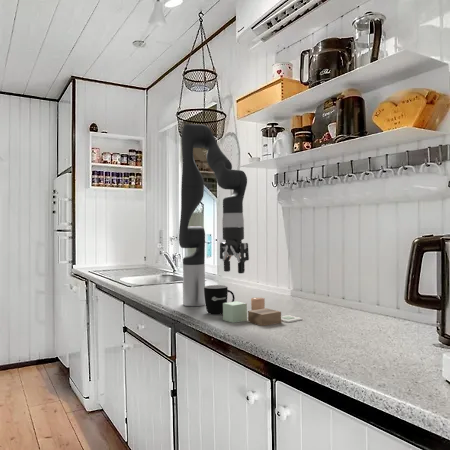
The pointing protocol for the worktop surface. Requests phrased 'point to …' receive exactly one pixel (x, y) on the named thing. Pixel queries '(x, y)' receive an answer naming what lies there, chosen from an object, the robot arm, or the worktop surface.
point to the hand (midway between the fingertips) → (234, 272)
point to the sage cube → (235, 311)
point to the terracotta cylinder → (257, 303)
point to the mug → (216, 298)
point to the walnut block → (264, 316)
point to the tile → (290, 318)
